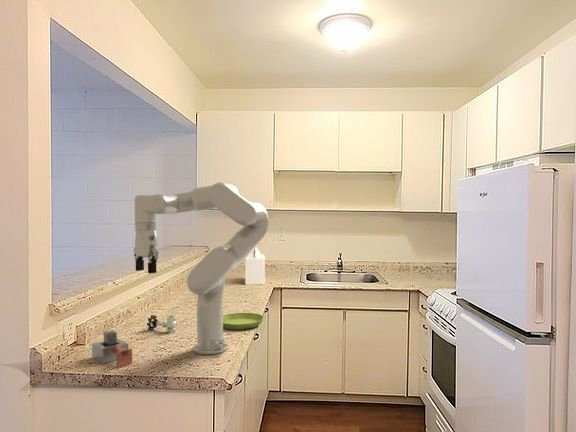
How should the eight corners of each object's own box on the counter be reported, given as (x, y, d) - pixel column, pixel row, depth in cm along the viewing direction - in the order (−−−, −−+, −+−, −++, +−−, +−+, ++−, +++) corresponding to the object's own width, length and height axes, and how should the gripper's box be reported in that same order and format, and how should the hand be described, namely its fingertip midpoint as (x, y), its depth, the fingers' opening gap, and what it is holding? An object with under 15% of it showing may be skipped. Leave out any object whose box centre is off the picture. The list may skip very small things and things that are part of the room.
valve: (179, 330, 192) (156, 328, 196) (179, 315, 192) (155, 313, 195) (171, 334, 185) (146, 332, 189) (171, 319, 185) (146, 316, 189)
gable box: (246, 279, 323) (246, 241, 322) (265, 279, 324) (264, 240, 323) (245, 285, 301) (244, 243, 300) (264, 284, 301) (264, 243, 301)
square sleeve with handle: (92, 357, 157) (92, 343, 157) (117, 351, 164) (116, 338, 164) (111, 369, 146) (111, 354, 146) (137, 362, 152) (137, 347, 152)
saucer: (261, 318, 213) (260, 311, 213) (266, 330, 192) (266, 322, 192) (217, 320, 209) (217, 313, 209) (218, 332, 189) (217, 325, 189)
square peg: (116, 357, 157) (116, 332, 157) (107, 360, 155) (107, 334, 155) (113, 355, 160) (112, 330, 159) (104, 357, 157) (103, 332, 157)
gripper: (165, 227, 167) (166, 273, 167) (143, 226, 179) (144, 268, 180) (147, 228, 162) (147, 275, 162) (125, 226, 174) (126, 270, 174)
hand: (145, 271), depth 171 cm, fingers open, 9 cm apart
